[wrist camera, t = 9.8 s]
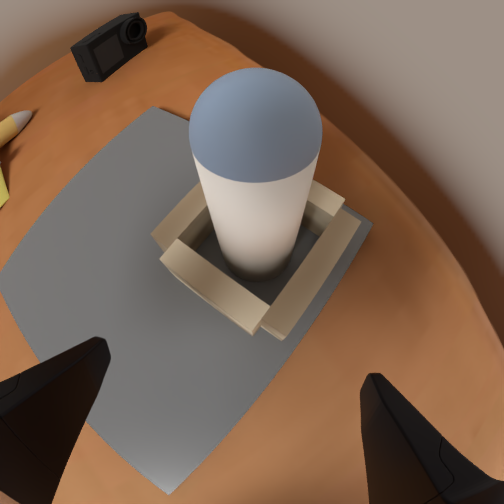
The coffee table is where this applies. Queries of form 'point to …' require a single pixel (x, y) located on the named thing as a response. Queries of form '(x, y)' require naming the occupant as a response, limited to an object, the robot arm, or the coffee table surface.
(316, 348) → the coffee table surface
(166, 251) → the cradle
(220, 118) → the blue-domed white cylinder
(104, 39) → the digital camera
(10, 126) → the toy airplane
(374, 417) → the robot arm
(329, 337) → the coffee table surface
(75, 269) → the jig board
